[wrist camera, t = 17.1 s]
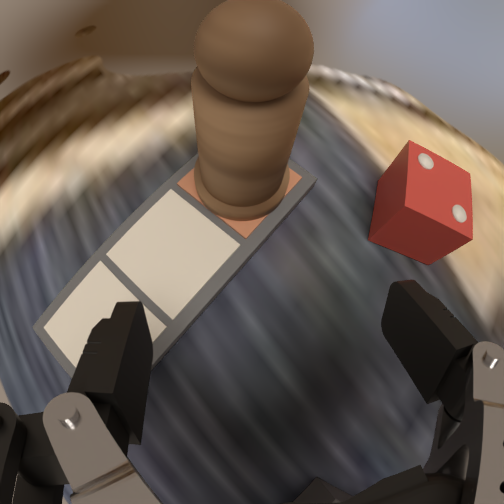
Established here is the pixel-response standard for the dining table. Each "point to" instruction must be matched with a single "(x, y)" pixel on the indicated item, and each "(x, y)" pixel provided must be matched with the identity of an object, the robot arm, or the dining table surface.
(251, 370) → the dining table surface
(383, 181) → the red die
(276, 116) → the wooden pawn
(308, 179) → the track board
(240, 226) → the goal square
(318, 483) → the base
